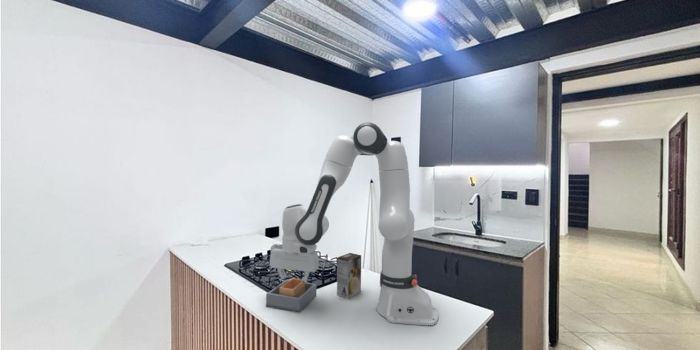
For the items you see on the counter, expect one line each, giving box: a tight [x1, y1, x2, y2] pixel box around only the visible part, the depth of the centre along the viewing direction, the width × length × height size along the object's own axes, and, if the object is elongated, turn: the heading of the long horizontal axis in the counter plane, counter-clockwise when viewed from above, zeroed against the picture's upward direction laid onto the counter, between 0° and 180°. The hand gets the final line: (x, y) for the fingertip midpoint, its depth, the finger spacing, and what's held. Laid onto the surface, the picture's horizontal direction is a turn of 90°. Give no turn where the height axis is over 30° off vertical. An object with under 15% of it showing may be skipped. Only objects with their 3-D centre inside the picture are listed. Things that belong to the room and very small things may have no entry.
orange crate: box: [279, 277, 305, 298], centre depth 112 cm, size 6×10×6 cm, turn 163°
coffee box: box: [336, 252, 362, 299], centre depth 121 cm, size 9×6×16 cm
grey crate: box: [265, 279, 317, 314], centre depth 113 cm, size 14×15×5 cm
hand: (293, 280), depth 112 cm, fingers open, 8 cm apart
